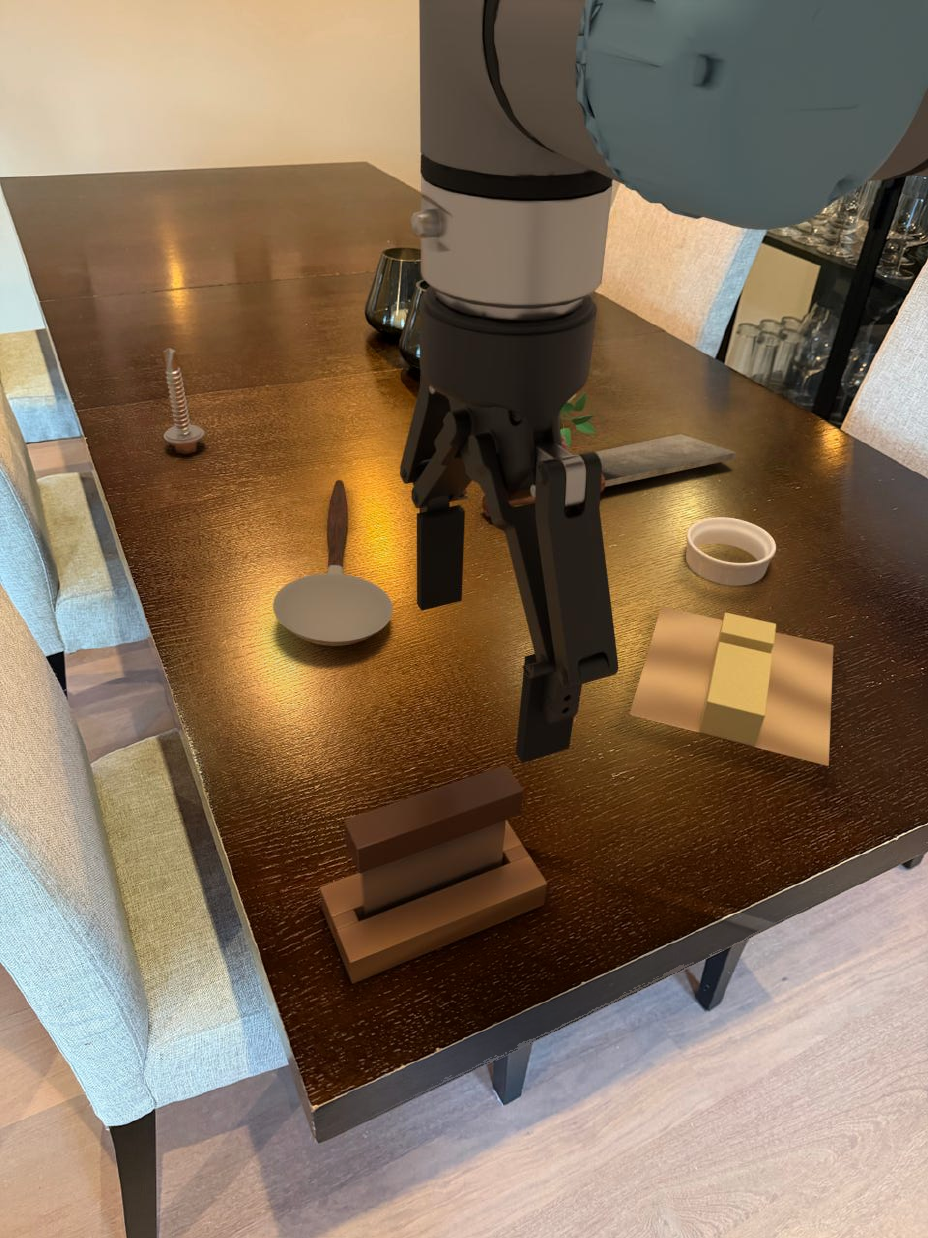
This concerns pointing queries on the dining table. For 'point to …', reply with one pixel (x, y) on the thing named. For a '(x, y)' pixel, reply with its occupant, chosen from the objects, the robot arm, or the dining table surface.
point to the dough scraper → (432, 839)
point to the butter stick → (737, 694)
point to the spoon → (333, 594)
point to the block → (430, 913)
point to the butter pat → (747, 633)
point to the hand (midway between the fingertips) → (485, 670)
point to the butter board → (793, 694)
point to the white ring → (734, 535)
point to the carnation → (575, 420)
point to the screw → (179, 410)
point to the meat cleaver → (649, 461)
